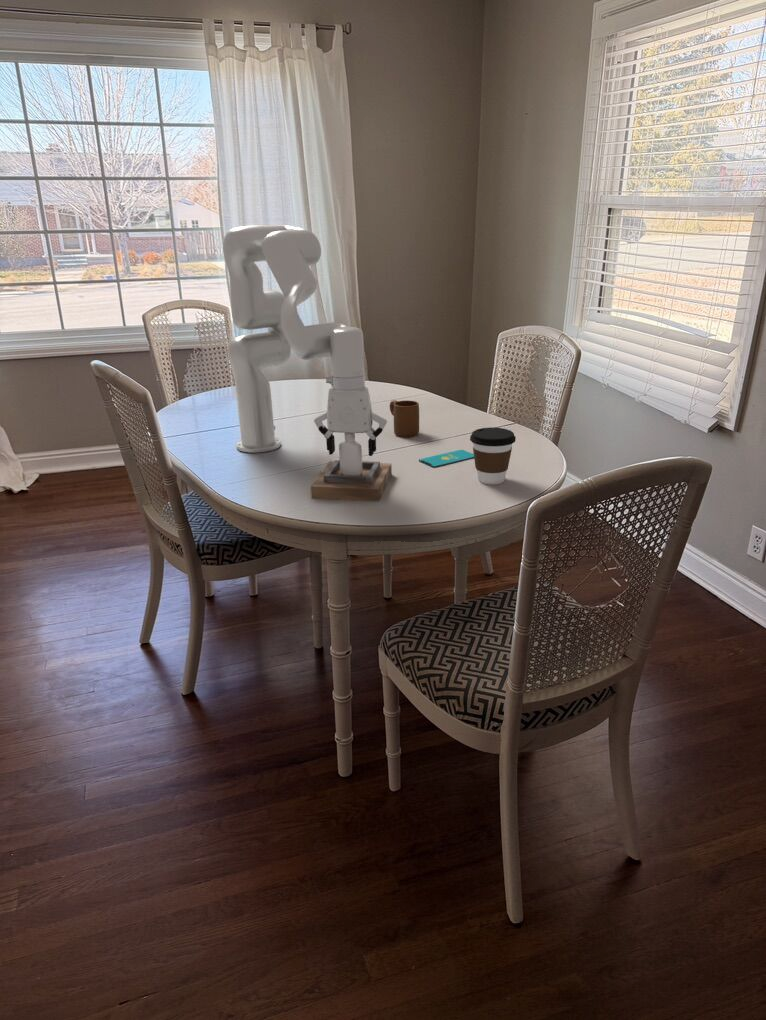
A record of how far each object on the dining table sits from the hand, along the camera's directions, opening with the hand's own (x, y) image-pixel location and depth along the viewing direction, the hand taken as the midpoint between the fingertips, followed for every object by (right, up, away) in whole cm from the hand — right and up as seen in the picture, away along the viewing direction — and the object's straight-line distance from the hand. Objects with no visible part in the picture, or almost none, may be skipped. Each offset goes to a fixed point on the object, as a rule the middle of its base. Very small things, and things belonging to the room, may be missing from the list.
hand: (351, 453), depth 169 cm
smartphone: (+25, 0, +21) cm, 32 cm away
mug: (+13, +10, +44) cm, 47 cm away
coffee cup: (+34, -6, +5) cm, 35 cm away
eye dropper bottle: (0, -5, +2) cm, 6 cm away
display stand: (0, -8, +3) cm, 8 cm away
